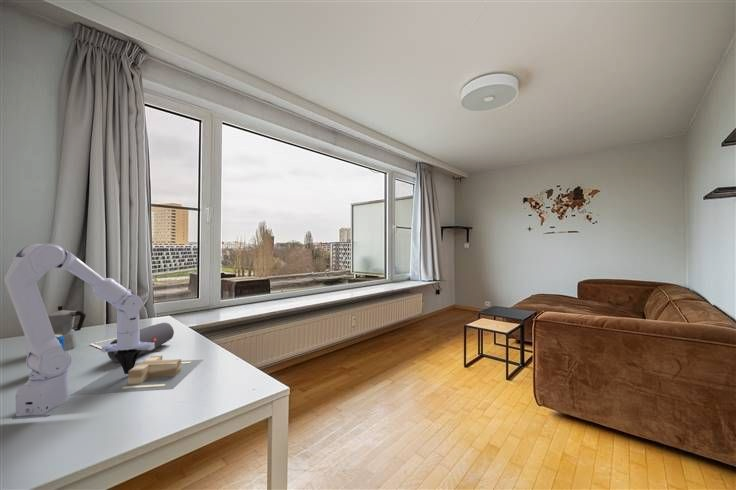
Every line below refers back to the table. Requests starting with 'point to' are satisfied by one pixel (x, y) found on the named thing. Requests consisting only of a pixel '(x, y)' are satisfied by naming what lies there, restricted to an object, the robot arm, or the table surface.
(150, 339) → the bluetooth speaker
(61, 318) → the coffeepot
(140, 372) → the t block
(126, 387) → the board
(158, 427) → the table surface
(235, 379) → the table surface
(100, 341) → the photo frame
